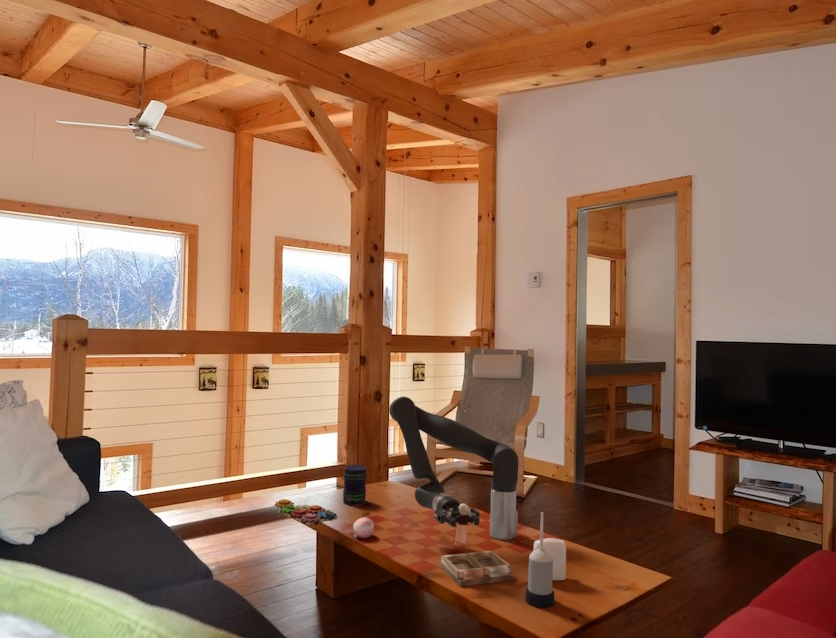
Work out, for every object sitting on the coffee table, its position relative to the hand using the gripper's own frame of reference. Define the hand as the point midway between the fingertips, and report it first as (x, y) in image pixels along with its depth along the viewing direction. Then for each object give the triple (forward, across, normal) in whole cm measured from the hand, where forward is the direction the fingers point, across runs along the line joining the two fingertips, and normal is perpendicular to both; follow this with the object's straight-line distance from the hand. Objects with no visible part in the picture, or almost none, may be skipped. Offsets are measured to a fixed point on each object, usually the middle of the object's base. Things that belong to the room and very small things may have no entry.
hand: (466, 523), depth 190 cm
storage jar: (-85, -15, +18) cm, 88 cm away
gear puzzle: (-76, -38, +18) cm, 87 cm away
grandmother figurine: (-2, 0, +7) cm, 8 cm away
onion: (-42, -22, +17) cm, 50 cm away
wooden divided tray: (-1, +4, +16) cm, 17 cm away
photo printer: (+9, +24, +16) cm, 31 cm away
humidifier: (+22, +14, +16) cm, 31 cm away
